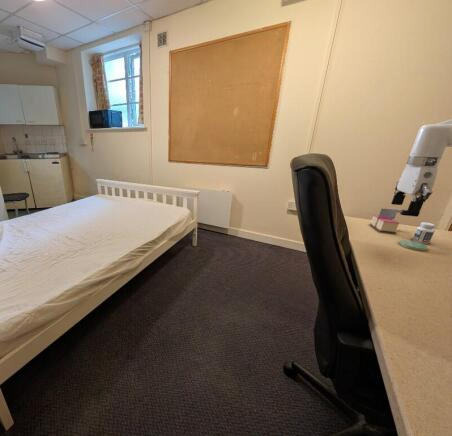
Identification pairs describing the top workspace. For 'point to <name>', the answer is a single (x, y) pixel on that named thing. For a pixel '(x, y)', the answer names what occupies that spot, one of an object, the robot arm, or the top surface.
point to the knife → (392, 213)
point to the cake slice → (375, 220)
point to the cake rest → (387, 225)
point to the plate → (413, 245)
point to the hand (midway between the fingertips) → (404, 208)
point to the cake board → (381, 230)
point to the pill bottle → (424, 233)
